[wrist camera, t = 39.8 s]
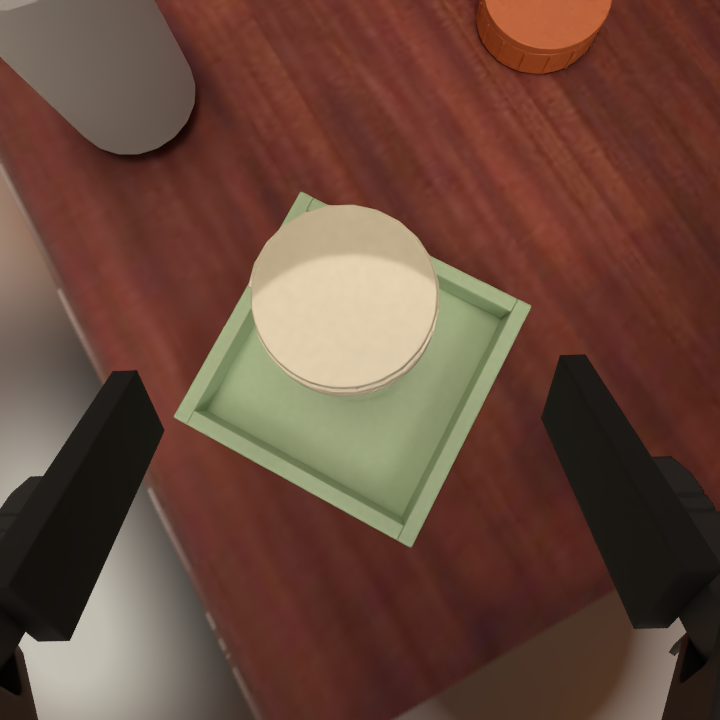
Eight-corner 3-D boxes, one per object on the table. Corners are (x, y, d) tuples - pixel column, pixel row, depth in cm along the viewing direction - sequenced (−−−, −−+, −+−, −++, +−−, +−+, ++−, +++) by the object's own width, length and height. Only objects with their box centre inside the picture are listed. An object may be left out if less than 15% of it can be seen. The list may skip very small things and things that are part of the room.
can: (221, 130, 27) (102, -93, 15) (107, 184, 27) (-104, 1, 15) (171, 29, 28) (21, -257, 16) (61, 81, 28) (-175, -170, 16)
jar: (424, 301, 25) (463, 222, 14) (398, 413, 24) (419, 416, 14) (313, 276, 25) (272, 180, 15) (284, 386, 25) (220, 367, 14)
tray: (517, 315, 25) (532, 305, 23) (407, 535, 24) (411, 548, 22) (306, 209, 26) (300, 190, 24) (190, 416, 25) (172, 417, 23)
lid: (483, -40, 28) (491, -72, 26) (600, -27, 28) (617, -60, 26) (469, 67, 27) (476, 41, 25) (590, 80, 27) (607, 56, 25)
